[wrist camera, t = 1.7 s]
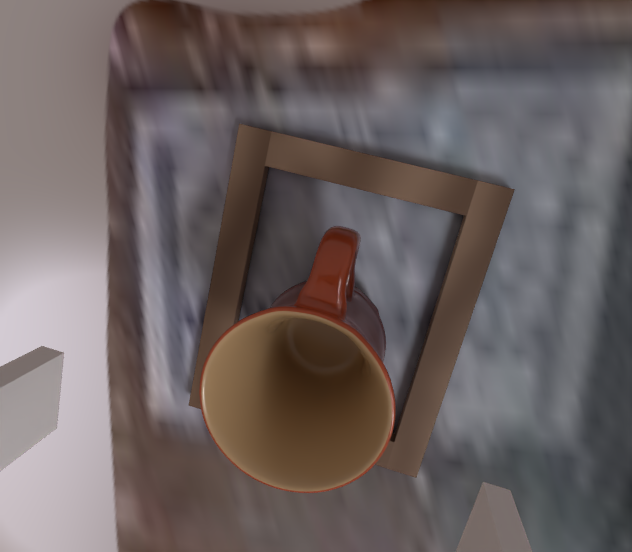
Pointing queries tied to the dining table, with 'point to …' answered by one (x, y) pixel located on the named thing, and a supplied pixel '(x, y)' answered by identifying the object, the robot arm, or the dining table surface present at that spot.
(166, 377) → the dining table surface
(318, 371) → the mug
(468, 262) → the frame
